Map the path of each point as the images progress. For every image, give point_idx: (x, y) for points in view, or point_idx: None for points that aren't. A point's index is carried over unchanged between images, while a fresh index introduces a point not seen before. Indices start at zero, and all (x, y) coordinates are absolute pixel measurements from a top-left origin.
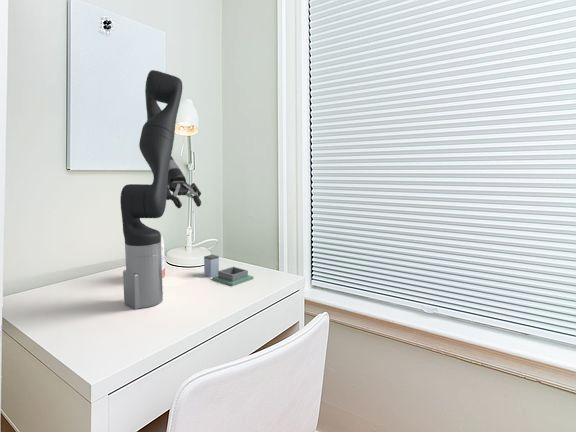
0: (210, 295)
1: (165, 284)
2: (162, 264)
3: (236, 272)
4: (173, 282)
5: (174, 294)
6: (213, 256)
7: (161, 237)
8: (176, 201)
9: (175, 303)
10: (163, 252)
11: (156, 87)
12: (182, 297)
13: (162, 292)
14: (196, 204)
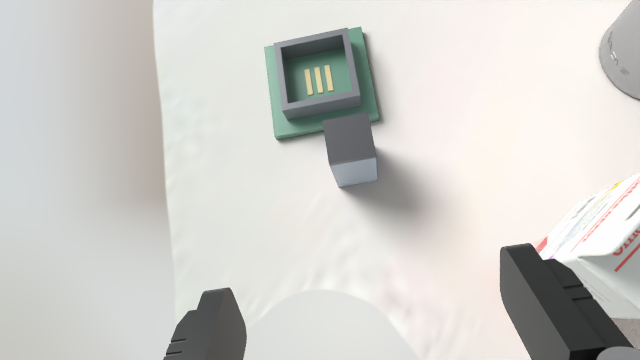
0: (457, 3)
1: (546, 172)
2: (552, 245)
3: (289, 96)
4: (511, 175)
5: (550, 66)
6: (342, 130)
7: (623, 231)
8: (583, 302)
9: (572, 3)
10: (564, 251)
11: None
12: (537, 31)
13: (614, 24)
14: (240, 358)
